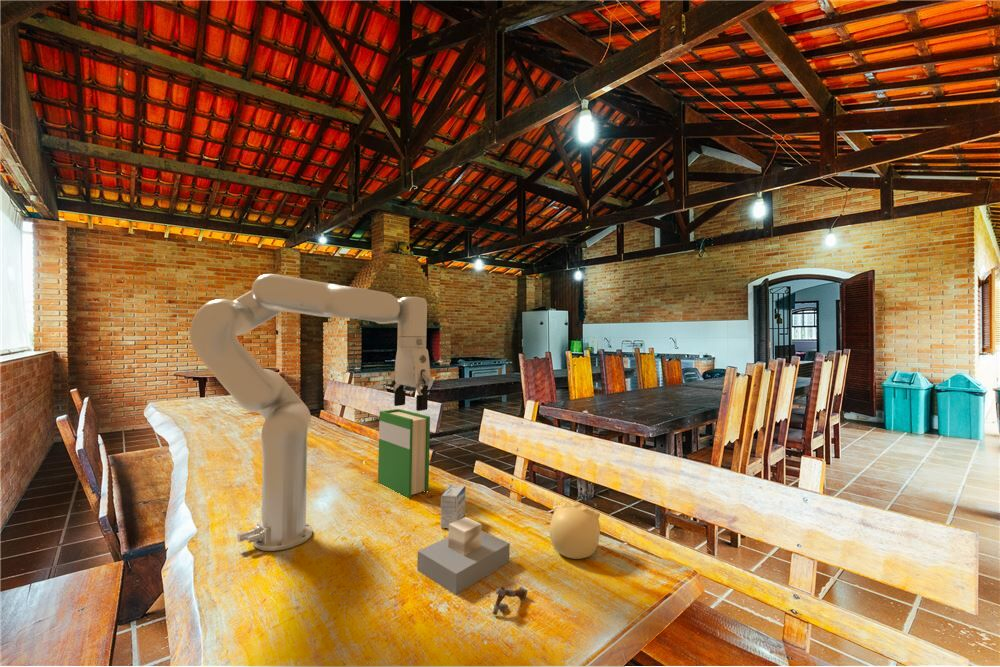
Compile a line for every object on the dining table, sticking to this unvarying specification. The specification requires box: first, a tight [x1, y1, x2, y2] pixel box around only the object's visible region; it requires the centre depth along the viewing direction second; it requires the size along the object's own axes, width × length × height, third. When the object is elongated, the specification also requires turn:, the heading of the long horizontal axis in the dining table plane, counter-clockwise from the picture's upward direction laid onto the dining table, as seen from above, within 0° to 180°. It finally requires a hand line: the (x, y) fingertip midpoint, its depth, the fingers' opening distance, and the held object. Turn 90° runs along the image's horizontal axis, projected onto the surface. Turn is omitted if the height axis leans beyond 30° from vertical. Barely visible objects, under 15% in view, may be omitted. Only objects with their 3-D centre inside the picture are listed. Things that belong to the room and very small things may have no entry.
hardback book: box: [377, 408, 431, 499], centre depth 133 cm, size 18×7×24 cm, turn 47°
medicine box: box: [440, 484, 467, 530], centre depth 109 cm, size 8×4×9 cm, turn 168°
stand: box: [416, 529, 511, 595], centre depth 89 cm, size 16×12×4 cm
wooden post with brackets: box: [492, 585, 528, 616], centre depth 76 cm, size 2×8×4 cm, turn 136°
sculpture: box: [549, 501, 601, 560], centre depth 96 cm, size 12×12×11 cm
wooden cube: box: [448, 516, 482, 556], centre depth 89 cm, size 5×5×5 cm
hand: (410, 407), depth 109 cm, fingers open, 9 cm apart
